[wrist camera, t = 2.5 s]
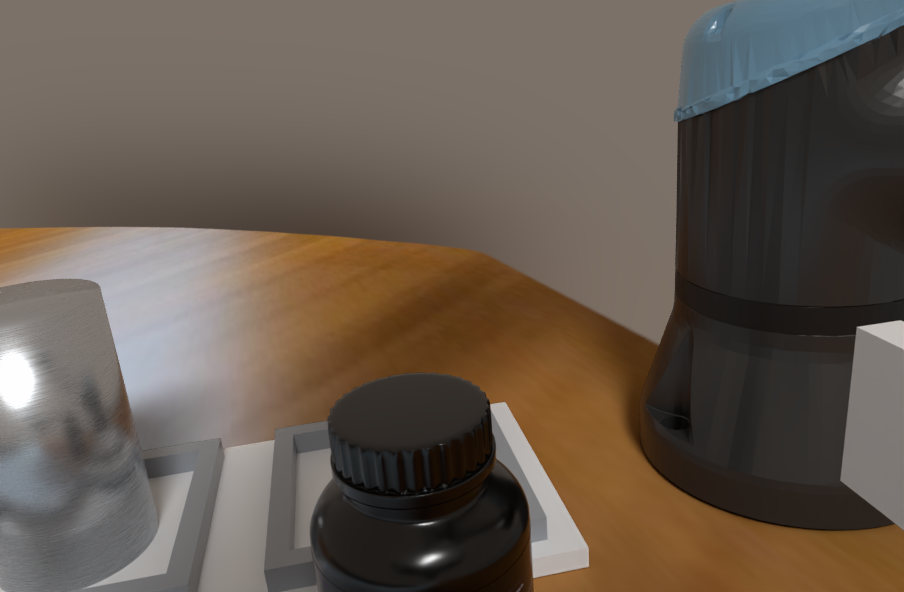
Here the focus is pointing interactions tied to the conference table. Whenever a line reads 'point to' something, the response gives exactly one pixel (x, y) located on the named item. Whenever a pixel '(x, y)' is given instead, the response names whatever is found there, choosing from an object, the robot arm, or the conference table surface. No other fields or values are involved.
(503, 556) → the supplement bottle
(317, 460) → the pallet
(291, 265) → the conference table surface
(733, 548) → the conference table surface
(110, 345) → the cylinder
